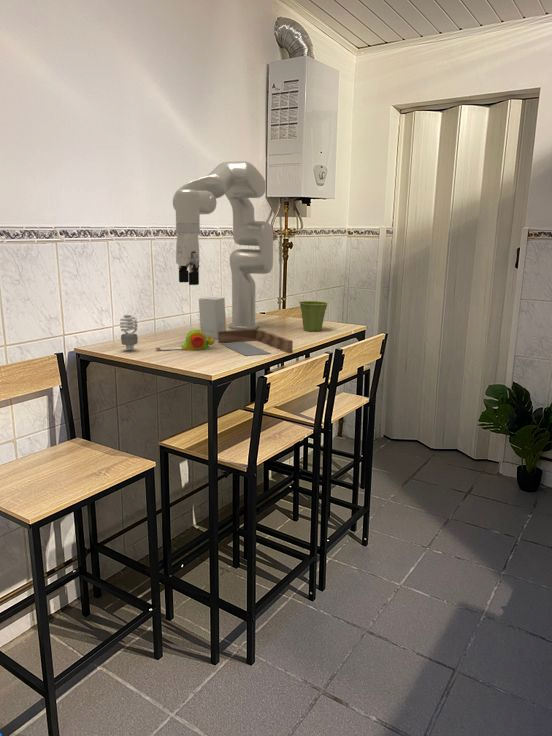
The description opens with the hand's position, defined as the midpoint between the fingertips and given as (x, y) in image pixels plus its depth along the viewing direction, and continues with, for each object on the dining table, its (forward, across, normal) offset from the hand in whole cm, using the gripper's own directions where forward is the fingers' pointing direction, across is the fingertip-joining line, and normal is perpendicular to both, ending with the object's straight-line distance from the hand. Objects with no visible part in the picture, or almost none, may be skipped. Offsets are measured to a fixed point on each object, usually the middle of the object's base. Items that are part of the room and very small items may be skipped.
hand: (188, 283), depth 189 cm
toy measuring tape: (+22, -1, -1) cm, 22 cm away
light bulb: (+22, -5, -19) cm, 30 cm away
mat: (+22, +7, +17) cm, 29 cm away
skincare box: (+22, -17, +15) cm, 32 cm away
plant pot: (+22, -16, +58) cm, 64 cm away
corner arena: (+22, +6, +21) cm, 31 cm away
